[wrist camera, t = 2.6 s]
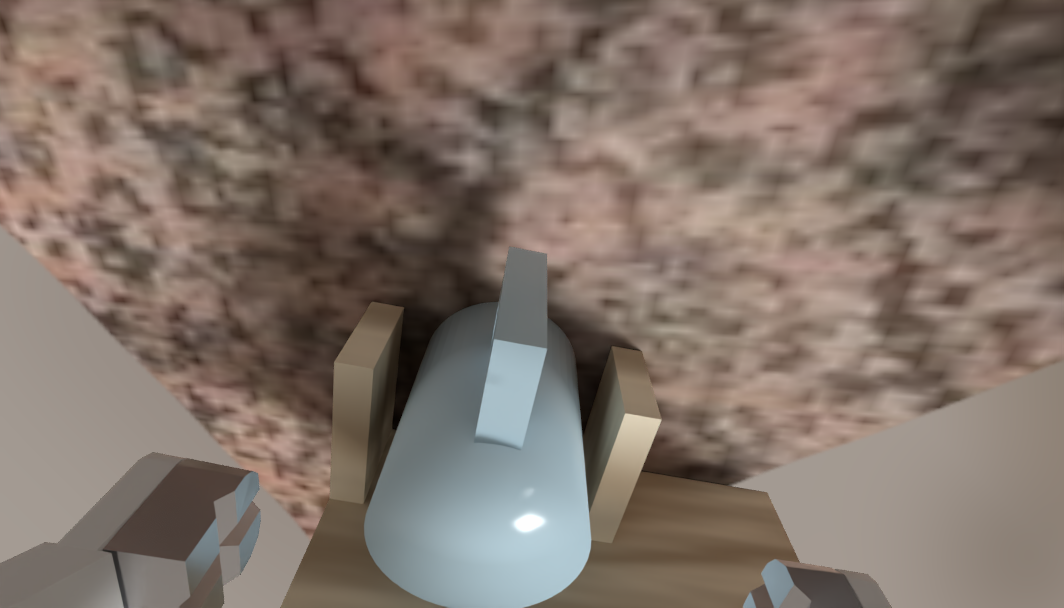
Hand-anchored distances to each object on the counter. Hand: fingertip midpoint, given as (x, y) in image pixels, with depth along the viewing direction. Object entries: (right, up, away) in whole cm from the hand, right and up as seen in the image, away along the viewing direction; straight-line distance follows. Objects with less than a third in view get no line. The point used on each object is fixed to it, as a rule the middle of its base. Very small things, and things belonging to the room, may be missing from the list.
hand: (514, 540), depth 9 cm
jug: (-1, +2, +12) cm, 12 cm away
